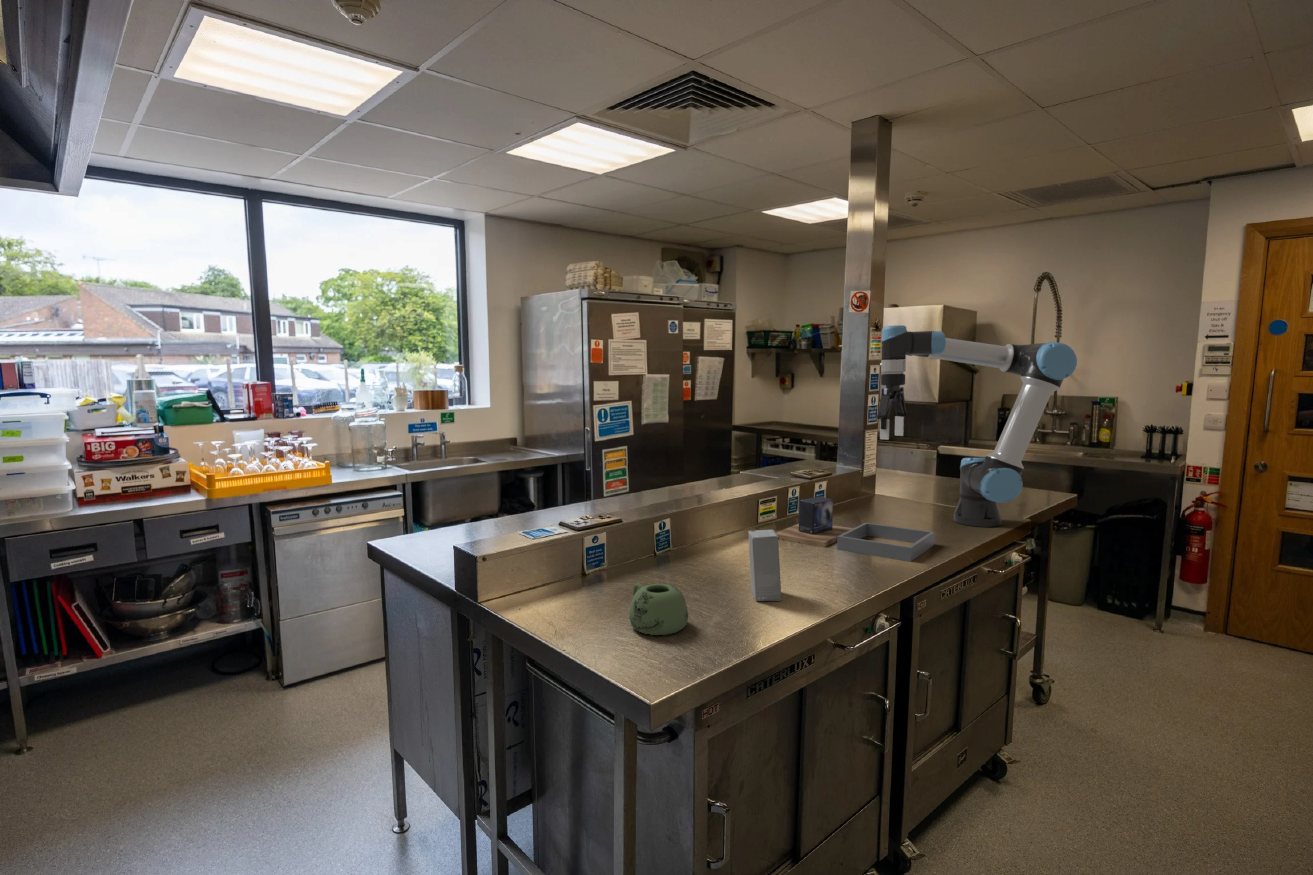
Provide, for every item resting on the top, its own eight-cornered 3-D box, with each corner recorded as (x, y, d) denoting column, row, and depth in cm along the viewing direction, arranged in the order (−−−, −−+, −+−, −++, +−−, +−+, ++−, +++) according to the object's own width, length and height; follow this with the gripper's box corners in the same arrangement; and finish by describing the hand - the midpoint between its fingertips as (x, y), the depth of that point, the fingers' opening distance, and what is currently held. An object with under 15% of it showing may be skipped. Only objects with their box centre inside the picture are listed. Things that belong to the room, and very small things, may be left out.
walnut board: (804, 525, 229) (804, 521, 229) (853, 532, 218) (853, 528, 218) (773, 538, 212) (773, 533, 212) (824, 547, 201) (824, 542, 201)
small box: (813, 535, 210) (813, 503, 209) (797, 531, 215) (797, 500, 214) (833, 529, 216) (834, 498, 215) (817, 526, 221) (818, 495, 220)
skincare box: (782, 601, 155) (782, 536, 153) (751, 602, 155) (751, 537, 153) (776, 589, 163) (776, 528, 161) (747, 590, 163) (747, 528, 162)
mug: (701, 628, 140) (700, 589, 139) (652, 644, 132) (651, 603, 131) (657, 607, 152) (656, 571, 152) (610, 620, 145) (609, 583, 144)
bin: (865, 534, 215) (865, 522, 215) (934, 544, 201) (934, 532, 201) (837, 549, 198) (837, 536, 198) (910, 561, 185) (910, 547, 184)
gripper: (895, 372, 226) (893, 433, 228) (867, 373, 206) (866, 440, 209) (917, 372, 221) (915, 434, 223) (891, 373, 202) (889, 441, 204)
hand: (891, 437), depth 216 cm, fingers open, 13 cm apart
